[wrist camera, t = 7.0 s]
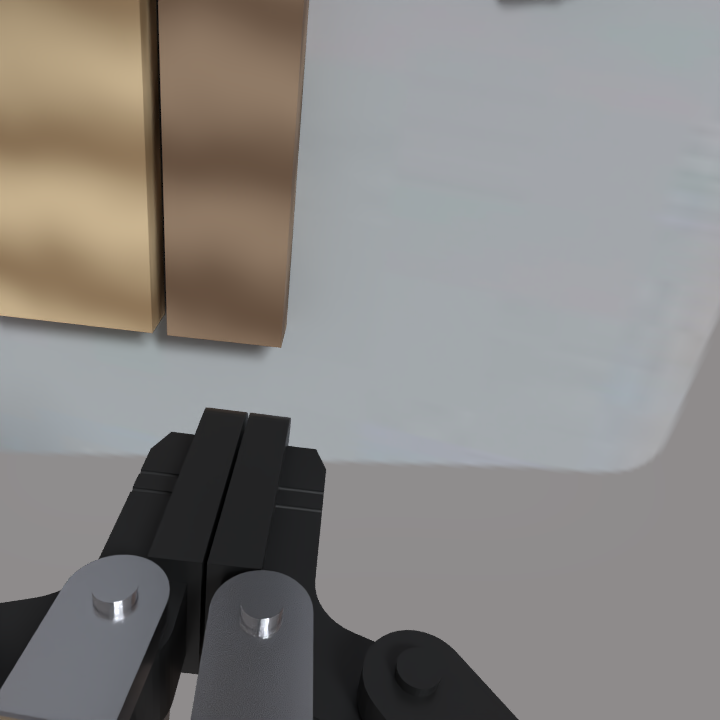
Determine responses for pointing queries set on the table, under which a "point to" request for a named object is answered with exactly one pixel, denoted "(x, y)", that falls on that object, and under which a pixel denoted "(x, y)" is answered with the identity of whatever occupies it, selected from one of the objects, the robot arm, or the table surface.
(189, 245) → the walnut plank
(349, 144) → the table surface
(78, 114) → the oak plank
